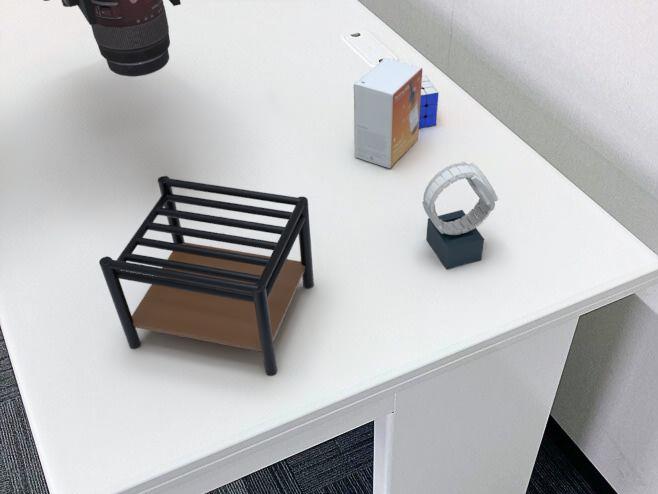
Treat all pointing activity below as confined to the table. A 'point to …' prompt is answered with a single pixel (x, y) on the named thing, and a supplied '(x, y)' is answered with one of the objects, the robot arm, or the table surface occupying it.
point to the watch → (458, 216)
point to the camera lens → (132, 35)
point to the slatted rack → (214, 272)
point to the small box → (387, 112)
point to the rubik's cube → (428, 103)
